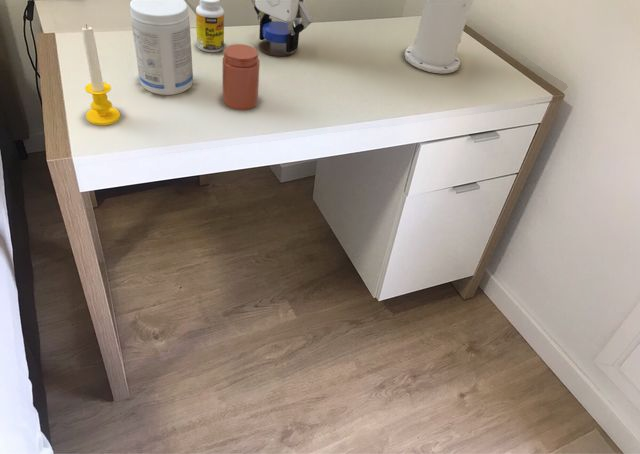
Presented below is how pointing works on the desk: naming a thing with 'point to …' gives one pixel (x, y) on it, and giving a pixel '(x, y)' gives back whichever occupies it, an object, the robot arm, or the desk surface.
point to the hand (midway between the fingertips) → (278, 43)
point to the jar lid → (275, 31)
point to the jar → (240, 76)
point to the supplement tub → (162, 45)
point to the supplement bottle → (210, 26)
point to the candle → (97, 85)
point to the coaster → (274, 49)
